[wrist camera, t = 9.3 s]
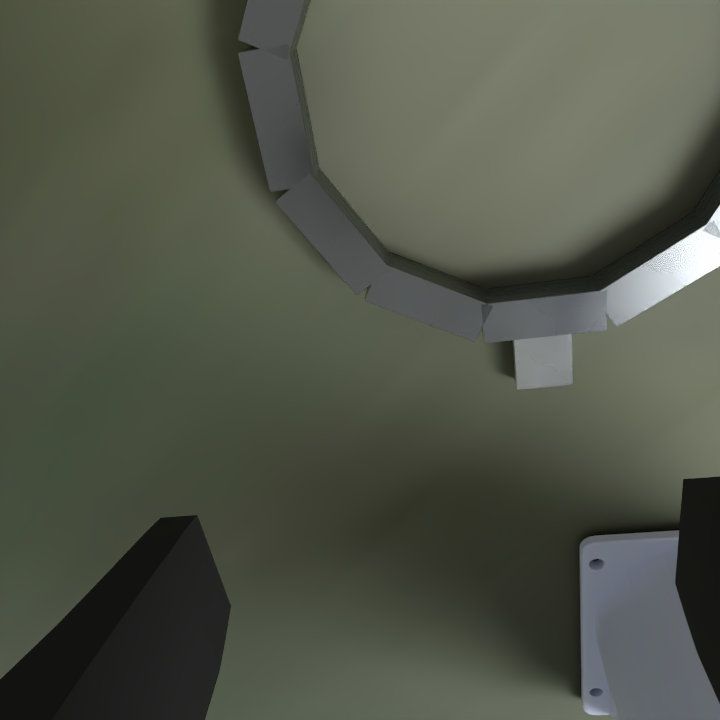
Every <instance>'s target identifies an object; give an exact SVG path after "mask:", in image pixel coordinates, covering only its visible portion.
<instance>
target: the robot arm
mask: <svg viewBox="0 0 720 720" xmlns="http://www.w3.org/2000/svg"><path fill="white" fill-rule="evenodd" d="M594 559H599V560H598V561H592V560H594ZM230 608H231V605H230V603H229V600H228V597H227V595H226V592H225V589H224V586H223V584H222V581H221V578H220V576H219V573H218V570H217V567H216V565H215V562H214V559H213V557H212V554H211V551H210V549H209V546H208V543H207V540H206V538H205V535H204V532H203V530H202V527H201V524H200V521H199V519H198V516H197V515H193V516H180V517H166V518H160V519H159V520H158V521H157V522H156V523H155V524H154V525H153V526H152V527H151V528H150V529H149V530H148V531H147V532H146V533H145V534H144V535H143V536H142V537H141V538H140V539H139V540H138V541H137V542H136V543H135V544H134V545H133V546H132V548H131V549H130V550H129V551H128V552H127V553H126V554H125V555H124V556H123V557H122V558H121V559H120V560H119V561H118V562H117V563H116V564H115V565H114V567H113V568H112V569H111V570H110V571H109V572H108V573H107V574H106V575H105V576H104V577H103V578H102V579H101V580H100V581H99V582H98V583H97V584H96V585H95V586H94V587H93V589H92V590H91V591H90V592H89V593H88V594H87V595H86V596H85V597H84V598H83V599H82V600H81V601H80V602H79V603H78V604H77V605H76V606H75V607H74V608H73V609H72V610H71V611H70V612H69V613H68V614H67V615H66V616H65V617H64V618H63V620H62V621H61V622H60V623H59V624H58V625H57V626H56V627H55V628H54V629H53V630H51V631H50V632H49V633H48V634H47V635H46V636H45V637H44V638H43V639H42V640H41V641H40V642H39V643H38V644H37V645H36V646H35V647H34V648H33V649H32V650H31V651H30V652H29V653H27V654H26V655H25V656H24V657H23V658H22V659H21V660H20V661H19V662H18V663H17V664H16V665H15V666H14V667H13V668H12V669H11V670H10V671H9V672H8V673H7V674H6V675H5V676H4V677H2V678H1V679H0V720H205V717H206V714H207V711H208V707H209V704H210V701H211V697H212V694H213V691H214V687H215V684H216V681H217V677H218V674H219V670H220V665H221V660H222V654H223V649H224V644H225V638H226V632H227V626H228V620H229V614H230ZM580 622H581V698H582V705H583V709H584V711H586V712H587V713H589V714H591V715H611V718H612V720H720V477H709V478H696V479H683V491H682V503H681V515H680V528H679V530H676V531H660V532H644V533H629V534H613V535H597V536H590V537H587V538H586V539H584V540H583V541H582V542H581V544H580Z"/></svg>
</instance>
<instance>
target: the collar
mask: <svg viewBox="0 0 720 720" xmlns="http://www.w3.org/2000/svg"><path fill="white" fill-rule="evenodd" d="M309 3H310V0H248V1H247V5H246V9H245V13H244V17H243V21H242V25H241V29H240V33H239V37H238V40H240V41H242V42H245V43H247V44H249V45H252V46H254V48H249V49H246V50H243V51H241V52H239V53H238V56H239V61H240V65H241V69H242V74H243V78H244V82H245V87H246V91H247V95H248V99H249V104H250V108H251V112H252V117H253V121H254V125H255V130H256V134H257V138H258V143H259V147H260V151H261V156H262V160H263V164H264V168H265V173H266V177H267V181H268V186H269V190H270V192H273V191H280V190H283V191H282V192H281V193H280V195H279V197H278V198H277V200H276V201H275V202H276V204H277V205H278V206H279V207H280V208H281V209H282V210H283V212H284V213H285V214H286V215H287V216H288V217H289V218H290V220H291V221H292V222H293V223H294V224H295V225H296V226H297V228H298V229H299V230H300V231H301V232H302V233H303V235H304V236H305V237H306V238H307V239H308V240H309V241H310V243H311V244H312V245H313V246H314V247H315V248H316V249H317V251H318V252H319V253H320V254H321V255H322V256H323V257H324V259H325V260H326V261H327V262H328V263H329V264H330V265H331V267H332V268H333V269H334V270H335V271H336V272H337V273H338V275H339V276H340V277H341V278H342V279H343V280H344V281H345V283H346V284H347V285H348V286H349V287H350V288H351V289H352V291H353V292H354V293H355V294H356V295H357V294H359V293H360V292H361V291H363V290H364V289H365V288H367V291H366V296H365V301H367V302H369V303H372V304H375V305H377V306H380V307H382V308H385V309H388V310H390V311H393V312H396V313H398V314H401V315H404V316H406V317H409V318H412V319H414V320H417V321H420V322H422V323H425V324H428V325H430V326H433V327H436V328H438V329H441V330H444V331H446V332H449V333H452V334H454V335H457V336H460V337H462V338H465V339H468V340H470V341H473V342H475V340H476V338H477V336H478V334H479V333H480V331H481V329H482V332H483V338H484V343H492V342H501V341H511V340H512V345H513V360H514V376H515V383H516V387H517V390H521V389H531V388H541V387H552V386H562V385H573V378H572V334H576V333H586V332H595V331H605V330H606V328H607V314H608V315H609V317H610V318H611V319H612V321H613V322H614V324H615V325H616V326H619V325H621V324H622V323H624V322H626V321H628V320H629V319H631V318H633V317H634V316H636V315H638V314H639V313H641V312H643V311H644V310H646V309H648V308H649V307H651V306H653V305H654V304H656V303H658V302H659V301H661V300H663V299H665V298H666V297H668V296H670V295H671V294H673V293H675V292H676V291H678V290H680V289H681V288H683V287H685V286H686V285H688V284H690V283H691V282H693V281H695V280H697V279H698V278H700V277H702V276H703V275H705V274H707V273H708V272H710V271H712V270H713V269H715V268H717V267H718V266H720V171H719V173H718V174H717V176H716V177H715V179H714V180H713V182H712V184H711V185H710V187H709V188H708V190H707V191H706V193H705V194H704V196H703V197H702V199H701V200H700V202H699V204H698V205H697V207H696V208H695V210H694V211H693V213H691V214H690V215H688V216H686V217H685V218H683V219H682V220H680V221H679V222H677V223H675V224H674V225H672V226H671V227H669V228H667V229H666V230H664V231H663V232H661V233H660V234H658V235H656V236H655V237H653V238H652V239H650V240H649V241H647V242H645V243H644V244H642V245H641V246H639V247H637V248H636V249H634V250H633V251H631V252H630V253H628V254H626V255H625V256H623V257H622V258H620V259H619V260H617V261H615V262H614V263H612V264H611V265H609V266H607V267H606V268H604V269H603V270H601V271H600V272H598V273H596V274H595V275H593V276H591V277H583V278H574V279H566V280H557V281H549V282H540V283H532V284H524V285H515V286H507V287H498V288H490V289H483V288H480V287H478V286H475V285H473V284H470V283H468V282H465V281H462V280H460V279H457V278H455V277H452V276H449V275H447V274H444V273H442V272H439V271H436V270H434V269H431V268H429V267H426V266H423V265H421V264H418V263H416V262H413V261H411V260H408V259H405V258H403V257H400V256H398V255H395V254H392V253H390V252H388V251H387V250H386V248H385V247H384V246H383V245H382V244H381V242H380V241H379V240H378V239H377V238H376V236H375V235H374V234H373V233H372V232H371V230H370V229H369V228H368V227H367V226H366V224H365V223H364V222H363V221H362V219H361V218H360V217H359V216H358V215H357V213H356V212H355V211H354V210H353V209H352V207H351V206H350V205H349V204H348V203H347V201H346V200H345V199H344V198H343V196H342V195H341V194H340V193H339V192H338V190H337V189H336V188H335V187H334V186H333V184H332V183H331V182H330V181H329V180H328V178H327V177H326V176H325V175H324V173H323V172H322V171H321V170H320V169H319V164H318V159H317V153H316V148H315V143H314V138H313V133H312V128H311V122H310V117H309V112H308V107H307V102H306V96H305V91H304V86H303V81H302V76H301V71H300V65H299V60H298V55H297V50H296V47H297V44H298V40H299V37H300V33H301V30H302V27H303V23H304V20H305V17H306V13H307V10H308V6H309Z"/></svg>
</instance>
